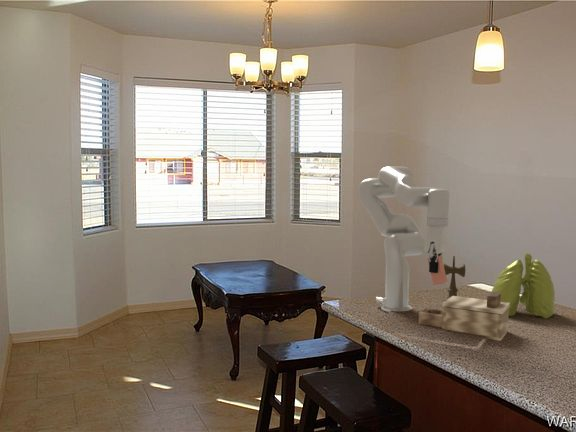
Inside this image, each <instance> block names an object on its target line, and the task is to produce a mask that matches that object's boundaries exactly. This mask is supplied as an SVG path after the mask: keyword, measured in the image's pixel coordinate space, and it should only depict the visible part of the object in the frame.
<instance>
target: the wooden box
mask: <svg viewBox="0 0 576 432" xmlns="http://www.w3.org/2000/svg"><path fill="white" fill-rule="evenodd" d="M509 317H510V316H509V308H508V309H507V310H506V311H505V312H504V313H503V314H496V313H488V312H481V311H474V310H467V309H459V308H452V307H445V306H442V309H437V308H429V307H425V308H424V309H423V310H421V311H419V312H418V325H427V326H430V327H431V326H432V327H438V328H442V330H447V331H453V332H459V333H465V334H471V335H472V334H473V335H479V336H483V339H487V340H492V341H499V342H500V341H502V340H503V339H504V337H505V336H506V335H507V333H508V332H509Z"/></svg>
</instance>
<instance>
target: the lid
mask: <svg viewBox="0 0 576 432" xmlns="http://www.w3.org/2000/svg"><path fill="white" fill-rule="evenodd" d="M441 305H442V307H444V306H445V307H452V308H459V309H467V310H474V311H481V312H488V313H496V314H503V313H504V312H505V311H506V310H507V309H508V308H509V306H510V303H506V302H501V292H493V291H492V290H491V292H490V293H489V294H487V296H486V299H482V298H474V297H465V296H458V295H457V296H452V297H450V298H449V299H447V298H446V300H445V301H443V302H442V304H441Z"/></svg>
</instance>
